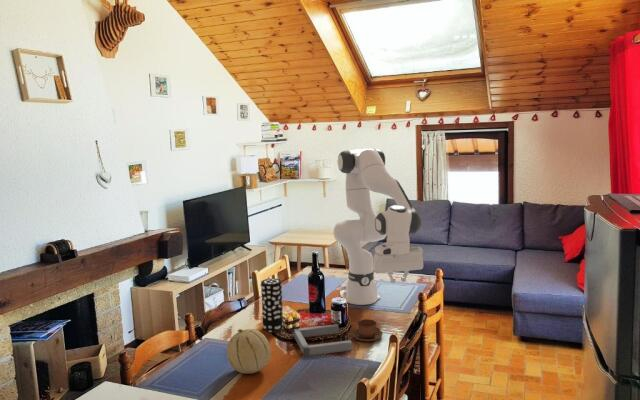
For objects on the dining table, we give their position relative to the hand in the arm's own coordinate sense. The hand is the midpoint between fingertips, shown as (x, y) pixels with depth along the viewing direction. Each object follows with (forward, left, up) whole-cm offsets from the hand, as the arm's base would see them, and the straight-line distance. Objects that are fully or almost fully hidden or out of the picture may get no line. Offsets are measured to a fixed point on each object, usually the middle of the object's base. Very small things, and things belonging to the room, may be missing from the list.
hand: (398, 282), depth 206 cm
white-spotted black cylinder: (-20, -47, -21) cm, 56 cm away
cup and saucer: (0, -13, -22) cm, 25 cm away
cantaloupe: (+16, -61, -21) cm, 66 cm away
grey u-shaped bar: (0, -31, -21) cm, 37 cm away
